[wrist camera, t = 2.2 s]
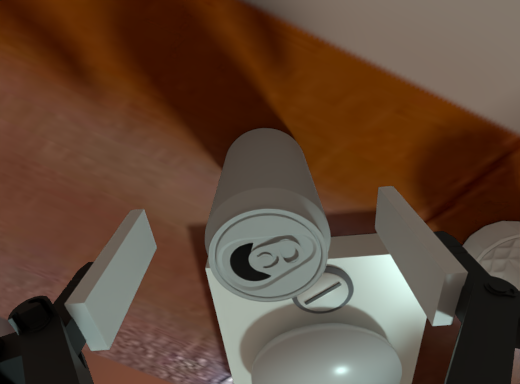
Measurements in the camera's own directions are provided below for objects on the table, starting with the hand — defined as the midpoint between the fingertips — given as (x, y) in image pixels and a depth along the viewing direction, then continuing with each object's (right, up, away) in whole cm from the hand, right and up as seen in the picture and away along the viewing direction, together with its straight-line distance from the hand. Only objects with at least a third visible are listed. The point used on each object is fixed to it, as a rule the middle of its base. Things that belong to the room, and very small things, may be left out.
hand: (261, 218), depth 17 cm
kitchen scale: (+6, -12, +16) cm, 21 cm away
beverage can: (0, +4, +8) cm, 9 cm away
